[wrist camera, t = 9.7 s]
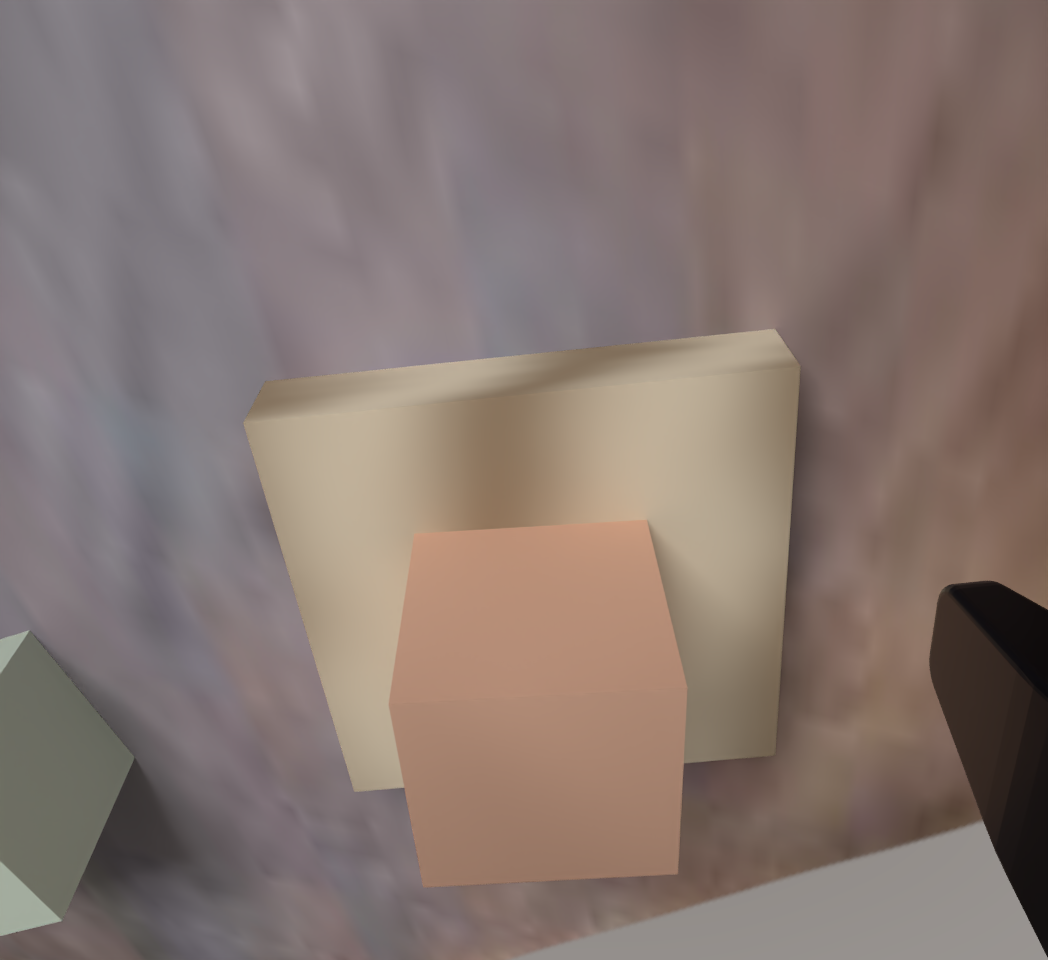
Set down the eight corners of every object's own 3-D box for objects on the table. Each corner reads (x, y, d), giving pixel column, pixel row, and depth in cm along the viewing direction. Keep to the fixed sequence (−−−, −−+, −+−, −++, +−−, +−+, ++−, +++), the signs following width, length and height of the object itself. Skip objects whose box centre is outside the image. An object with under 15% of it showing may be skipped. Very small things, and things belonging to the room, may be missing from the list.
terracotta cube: (646, 519, 19) (687, 687, 15) (644, 689, 22) (677, 873, 17) (414, 533, 19) (388, 704, 15) (439, 701, 22) (423, 887, 18)
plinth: (767, 319, 19) (800, 366, 17) (752, 685, 25) (775, 755, 23) (270, 370, 20) (243, 423, 18) (366, 720, 26) (354, 791, 23)
